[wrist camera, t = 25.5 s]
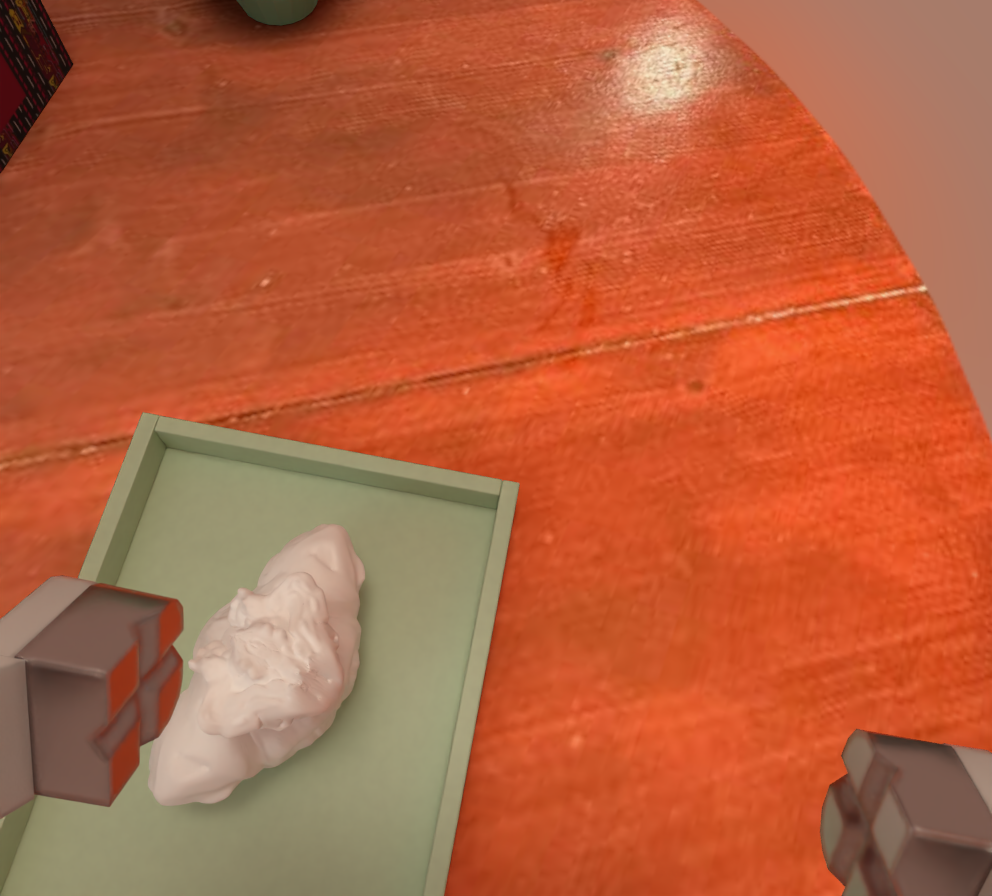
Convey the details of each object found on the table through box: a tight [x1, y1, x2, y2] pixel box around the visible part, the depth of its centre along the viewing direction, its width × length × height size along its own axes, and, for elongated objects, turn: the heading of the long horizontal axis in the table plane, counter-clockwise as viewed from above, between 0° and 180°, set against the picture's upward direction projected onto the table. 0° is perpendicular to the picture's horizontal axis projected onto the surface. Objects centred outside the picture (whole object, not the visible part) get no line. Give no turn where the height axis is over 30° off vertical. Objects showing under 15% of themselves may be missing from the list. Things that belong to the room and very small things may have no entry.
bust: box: [148, 524, 365, 806], centre depth 32 cm, size 12×8×11 cm
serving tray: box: [0, 412, 520, 896], centre depth 35 cm, size 18×24×3 cm
